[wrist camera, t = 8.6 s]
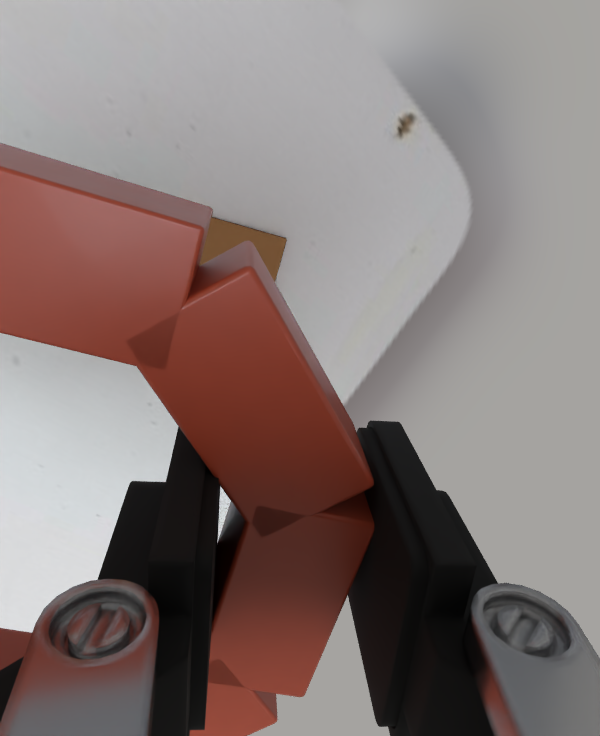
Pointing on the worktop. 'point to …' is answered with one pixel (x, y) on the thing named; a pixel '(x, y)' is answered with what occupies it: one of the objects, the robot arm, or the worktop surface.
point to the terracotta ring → (203, 407)
